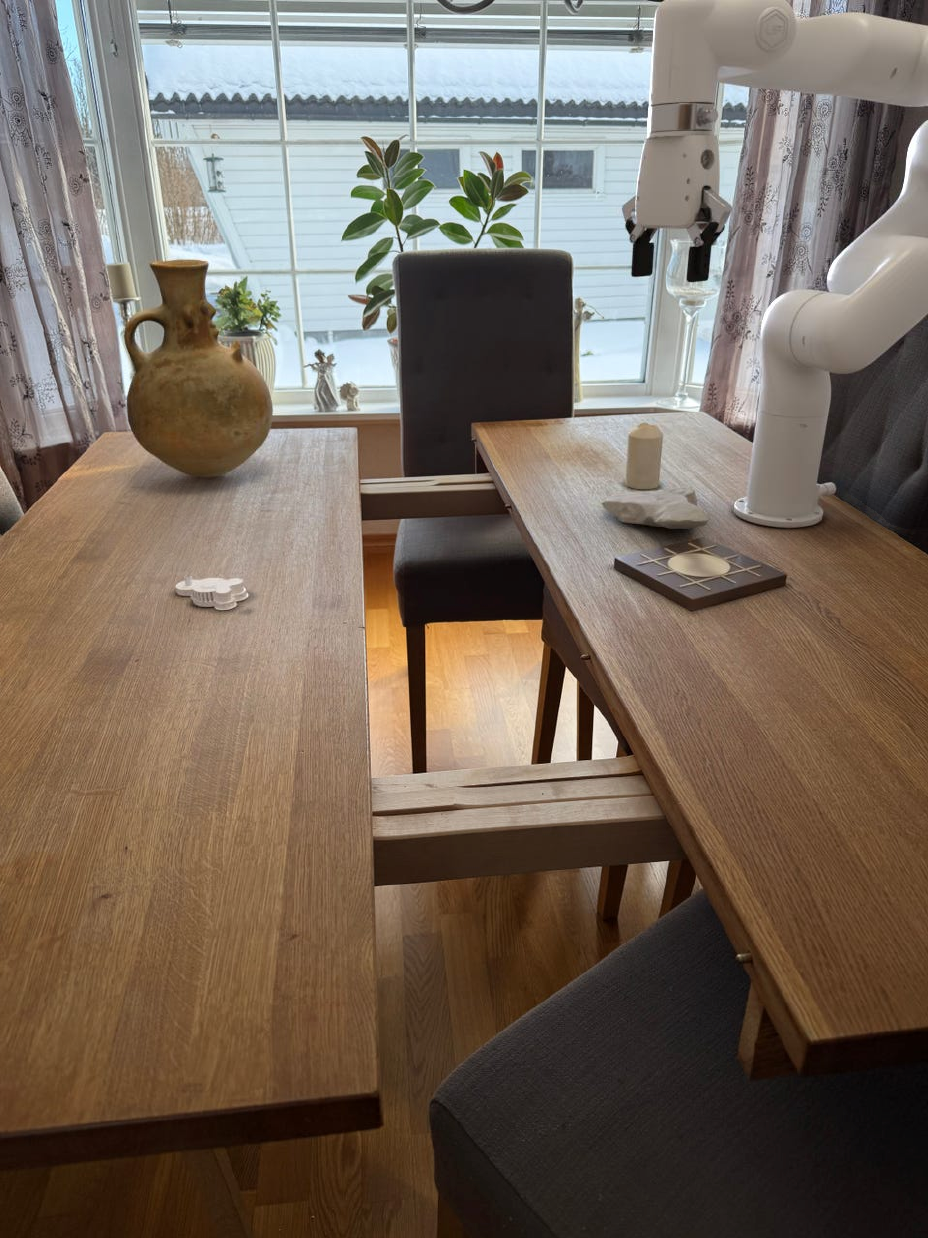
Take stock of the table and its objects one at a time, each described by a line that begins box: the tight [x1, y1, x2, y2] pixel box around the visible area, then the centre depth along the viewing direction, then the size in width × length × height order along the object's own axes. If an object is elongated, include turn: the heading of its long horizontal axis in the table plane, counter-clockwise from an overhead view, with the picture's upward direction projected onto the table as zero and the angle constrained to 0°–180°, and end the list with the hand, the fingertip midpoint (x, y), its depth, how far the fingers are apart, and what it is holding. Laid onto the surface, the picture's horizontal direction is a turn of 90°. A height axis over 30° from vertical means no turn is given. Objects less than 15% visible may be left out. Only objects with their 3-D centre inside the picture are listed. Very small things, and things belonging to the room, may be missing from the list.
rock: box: [601, 486, 709, 530], centre depth 129 cm, size 21×5×15 cm
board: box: [613, 536, 788, 612], centre depth 111 cm, size 15×15×2 cm
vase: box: [123, 258, 274, 478], centre depth 148 cm, size 24×24×35 cm
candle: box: [624, 422, 664, 490], centre depth 144 cm, size 6×6×10 cm
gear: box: [175, 574, 250, 611], centre depth 107 cm, size 9×9×2 cm
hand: (668, 278), depth 112 cm, fingers open, 9 cm apart
